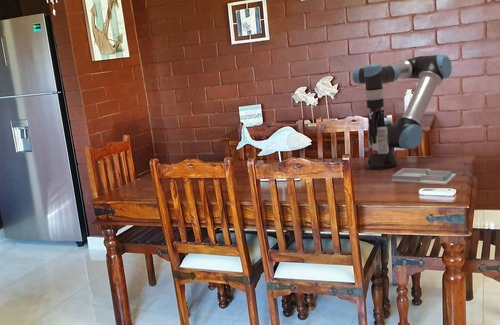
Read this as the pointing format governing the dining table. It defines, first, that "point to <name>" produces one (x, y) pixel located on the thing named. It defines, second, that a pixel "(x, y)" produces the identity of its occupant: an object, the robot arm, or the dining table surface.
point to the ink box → (379, 141)
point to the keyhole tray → (422, 176)
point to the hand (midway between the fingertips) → (378, 148)
